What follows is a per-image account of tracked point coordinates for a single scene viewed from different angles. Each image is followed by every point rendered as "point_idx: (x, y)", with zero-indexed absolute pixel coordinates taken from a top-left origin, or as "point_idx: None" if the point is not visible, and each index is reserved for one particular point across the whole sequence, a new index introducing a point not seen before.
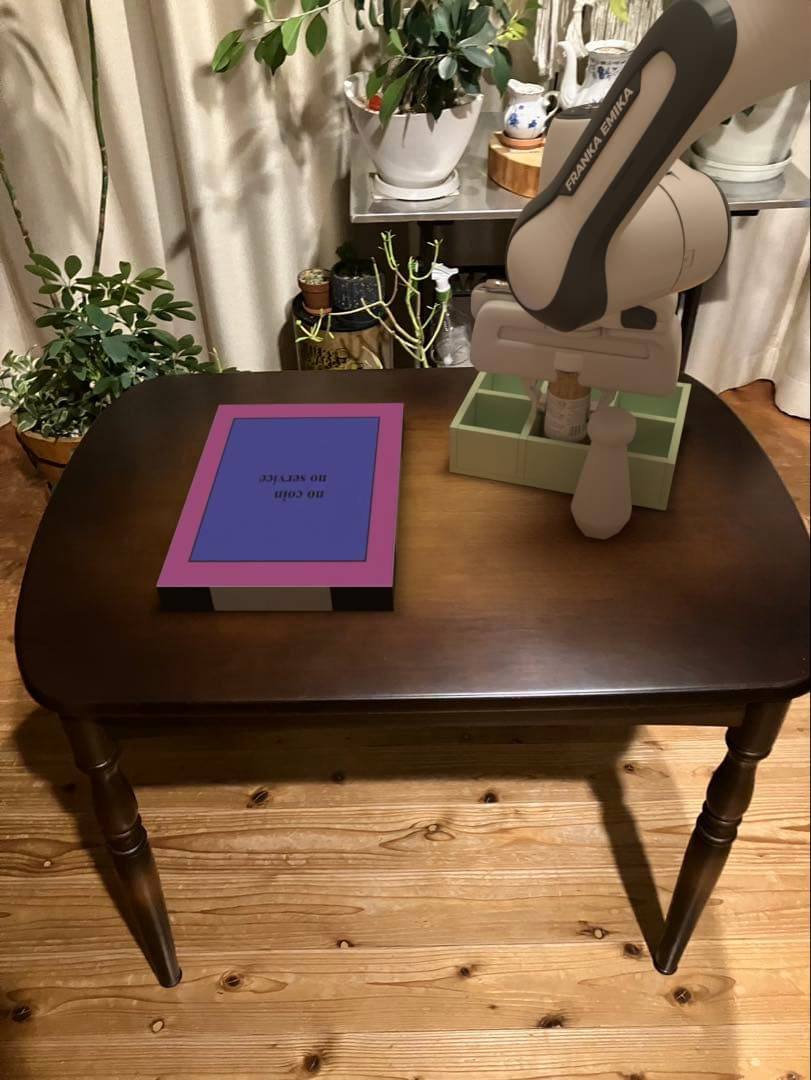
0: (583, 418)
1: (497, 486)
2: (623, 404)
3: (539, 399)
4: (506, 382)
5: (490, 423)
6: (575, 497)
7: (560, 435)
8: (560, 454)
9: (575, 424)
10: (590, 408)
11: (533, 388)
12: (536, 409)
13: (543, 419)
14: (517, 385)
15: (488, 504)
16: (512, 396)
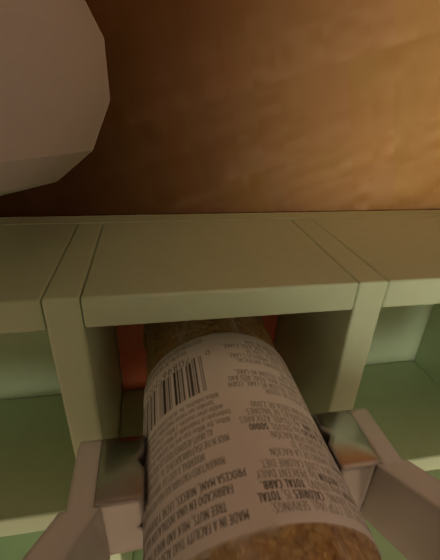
0: (155, 446)
1: (348, 187)
2: None
3: (370, 478)
4: None
5: (397, 381)
6: (75, 12)
7: (230, 350)
8: (208, 270)
9: (183, 407)
10: (131, 508)
11: (434, 528)
12: (360, 429)
13: None
14: None
15: (370, 93)
16: None
